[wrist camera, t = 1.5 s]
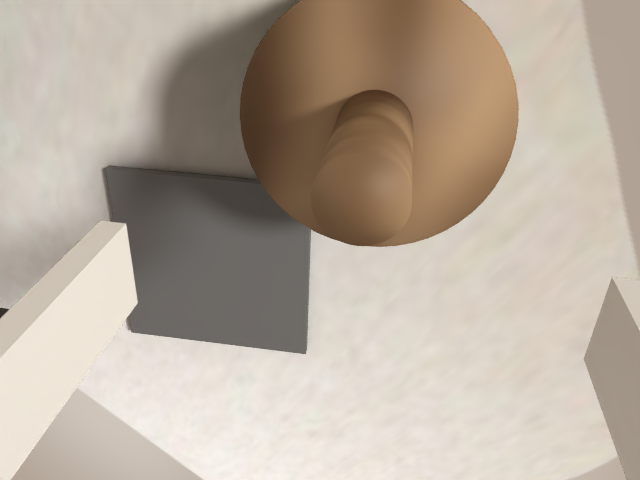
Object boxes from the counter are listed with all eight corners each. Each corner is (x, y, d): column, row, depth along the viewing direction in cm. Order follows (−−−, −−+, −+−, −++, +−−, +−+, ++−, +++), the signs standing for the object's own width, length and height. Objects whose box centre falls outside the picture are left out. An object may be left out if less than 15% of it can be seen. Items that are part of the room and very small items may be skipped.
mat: (134, 327, 47) (131, 332, 46) (109, 165, 40) (105, 169, 39) (306, 348, 45) (305, 354, 45) (312, 184, 38) (310, 188, 38)
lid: (248, 224, 32) (195, 325, 25) (241, -34, 26) (166, -7, 18) (487, 249, 31) (511, 363, 23) (544, -17, 24) (602, 20, 17)
